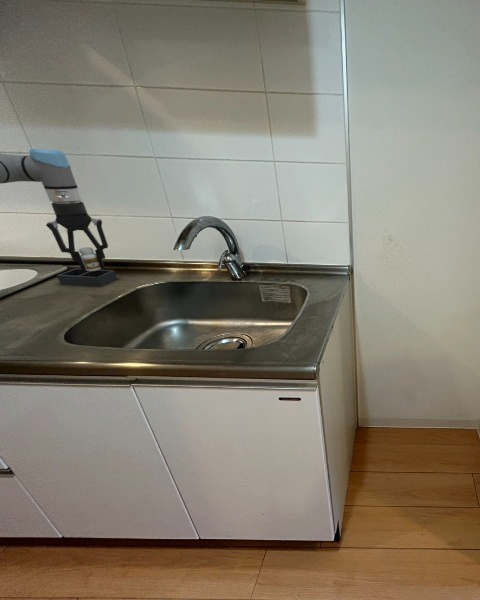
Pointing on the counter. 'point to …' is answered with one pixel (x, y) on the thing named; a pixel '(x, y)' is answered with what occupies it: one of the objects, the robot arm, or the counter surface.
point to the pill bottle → (89, 259)
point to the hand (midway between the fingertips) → (93, 268)
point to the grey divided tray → (87, 277)
